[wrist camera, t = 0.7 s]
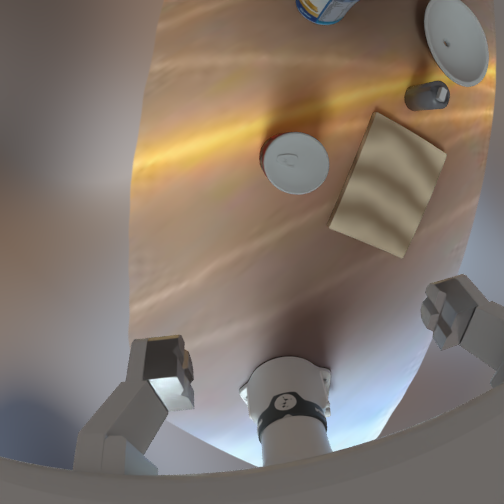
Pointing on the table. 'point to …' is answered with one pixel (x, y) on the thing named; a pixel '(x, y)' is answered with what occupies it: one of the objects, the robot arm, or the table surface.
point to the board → (387, 187)
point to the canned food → (294, 162)
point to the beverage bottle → (324, 10)
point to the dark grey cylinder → (427, 96)
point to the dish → (456, 41)
